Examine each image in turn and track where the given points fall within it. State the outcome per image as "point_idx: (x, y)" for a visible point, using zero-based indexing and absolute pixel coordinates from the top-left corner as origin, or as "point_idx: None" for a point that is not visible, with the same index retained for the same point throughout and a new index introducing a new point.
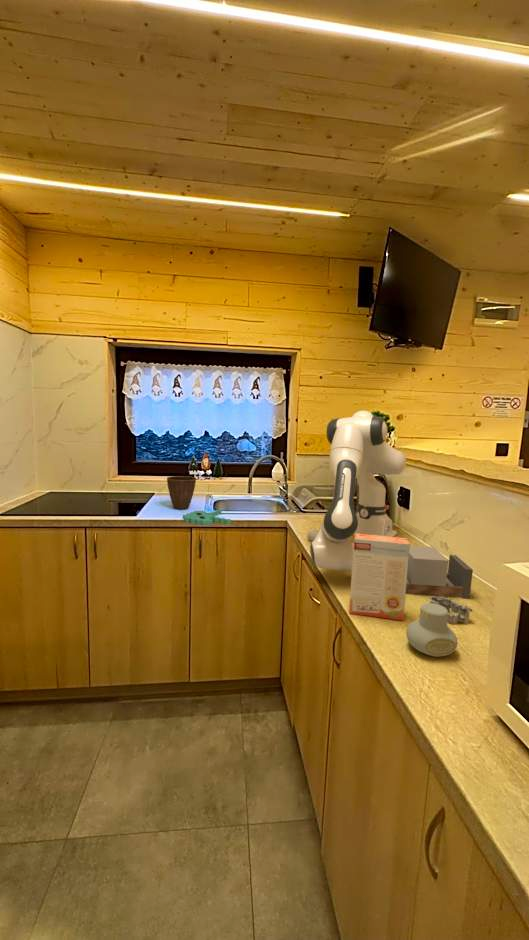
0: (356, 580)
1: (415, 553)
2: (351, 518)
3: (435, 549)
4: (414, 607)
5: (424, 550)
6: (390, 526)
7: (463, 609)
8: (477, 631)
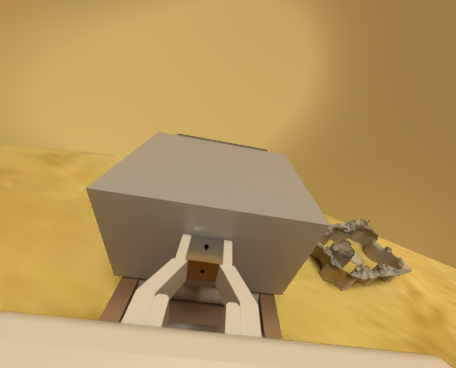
0: None
1: (244, 192)
2: None
3: (185, 137)
4: (364, 339)
5: (195, 157)
6: None
7: (354, 229)
8: (380, 241)
